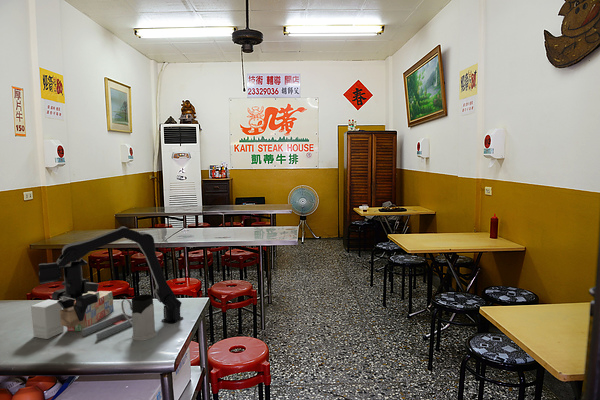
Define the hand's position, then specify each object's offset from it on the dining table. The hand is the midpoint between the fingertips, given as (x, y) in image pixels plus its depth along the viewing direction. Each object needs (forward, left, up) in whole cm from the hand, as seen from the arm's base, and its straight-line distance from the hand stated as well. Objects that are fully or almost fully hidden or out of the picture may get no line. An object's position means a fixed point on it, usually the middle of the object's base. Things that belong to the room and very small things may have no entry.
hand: (76, 319), depth 138 cm
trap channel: (0, -13, -9) cm, 16 cm away
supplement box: (+18, 0, -9) cm, 20 cm away
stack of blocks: (+15, -16, -10) cm, 24 cm away
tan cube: (0, +1, -1) cm, 2 cm away
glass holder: (-14, -15, -9) cm, 23 cm away
